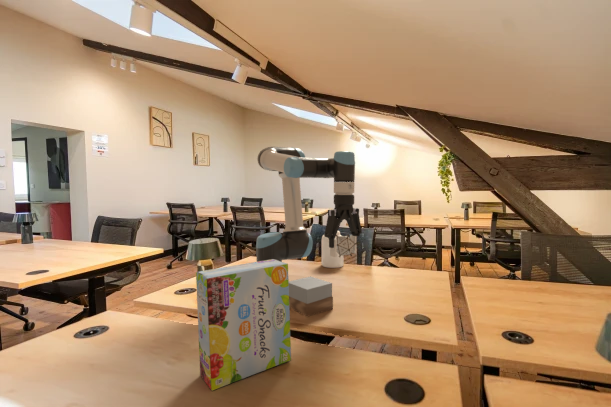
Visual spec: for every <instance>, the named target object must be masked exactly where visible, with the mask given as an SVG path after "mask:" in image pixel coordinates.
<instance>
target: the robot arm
mask: <svg viewBox="0 0 611 407" xmlns="http://www.w3.org/2000/svg"><path fill="white" fill-rule="evenodd" d="M256 159H257V164H258V166H259V167H260V168H261V169H263V170H265V171H269V172H270V171H271V172H278V177H279V178H281V180H282V195H283V196H282V197H283V210H284V211H283V212H284V224H285V227H284V229H283V230H282V233H281V232H279V231H278V232H277V231H276V232H275V231H274V232H267V233H263V234H260V235H258V236H257V238H256V245H255V248H256V249H255V250H256V251H255V252H256V253H255V254H256V262H258V261H265V260H271V259H275V260H278V261H280V262H283V261H286V260H292V259H293V260H295V259H302V258H306V257H308V256H310V254H311V252H312V250H313V244H314V242H313V237H312V235H311V234H310V233H309V232H308V231H307V228H305V226H304V221H303V216H304V215H303V205H302V193H301V192H302V191H301V180H300V178H303V179H305V178H307V179H308V178H309V179H310V178H311V179H315V178H316V179H332V178H333V193H334V195H333V204H334V208H333V209H327V220H326V225H325V230H324V234H323V235H324V236H325V237H327V238H329V247H330V256H332V257H337V239H335V237H336V234H337V231H339V228H340V226H341V223H343V221H344V220H345V221H346V223H347V226H348V228H349V231H350V234H349V238H350V239H351V240H352V241H353V242H354V243H357V244H358V237H360V234H362V233H363V232H362V227H361V226H362V225H361V219H360V208H358V207H354V205H355V195H354V194H355V180H356V179H355V178H356V177H355V171H356V161H355V159H356V157H355V152H353V151H350V150H349V151H348V150H339V151H335V152H334V154H333V157H332V158H327V157H326V158H325V157H324V158H323V157H306V154H305V153H304V151H303V150H302V149H301V148H298V147H293V146H291V147H288V146H287V147H285V146H284V147H283V146H267V147H265V148H262V150H260V152H259V153H258V155H257V158H256ZM332 234H333V235H332ZM357 244H355V246H354V248H353V250H352V253H351V254H357Z"/></svg>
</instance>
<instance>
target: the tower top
mask: <svg viewBox="0 0 611 407" xmlns="http://www.w3.org/2000/svg"><path fill="white" fill-rule="evenodd" d="M289 296H290V297H292V298H294V299H297V300H299V301H301V302H304V303H306V304H308V303H312V302H315V301H318V300H322V299H325V298H328V297H333V282H331V281H327V280H324V279H320V278H318V277H314V276H306V277H303V278H299V279H294V280H289Z"/></svg>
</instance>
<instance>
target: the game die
mask: <svg viewBox="0 0 611 407" xmlns="http://www.w3.org/2000/svg"><path fill="white" fill-rule="evenodd" d="M336 236H337V235H336ZM336 239H337V253H338V254H339V257H340V256H341V255H343V256H350V257H353V255H352V254H353V253H352V250H353V248H354V246H355V244H356V245H358V242H357V243H354V242H353V241H352V240H351V239H350V234H347V235H342V236H337V238H336Z"/></svg>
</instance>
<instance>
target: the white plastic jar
mask: <svg viewBox="0 0 611 407" xmlns="http://www.w3.org/2000/svg"><path fill="white" fill-rule="evenodd" d="M332 235H333V234H332ZM336 235H337V236H343V235H341V231H340V230H338V231H337V234H336ZM337 236H336V237H335V239H336V238H337ZM321 266H322V267H324V268H330V269H336V268H337V269H338V268H342V267H343V266H344V255H341V256H340V257H339V254H338V253H337V257H332V256H330V247H329V238H327V237H325V236H324V234H323V235H322V236H321Z"/></svg>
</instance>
